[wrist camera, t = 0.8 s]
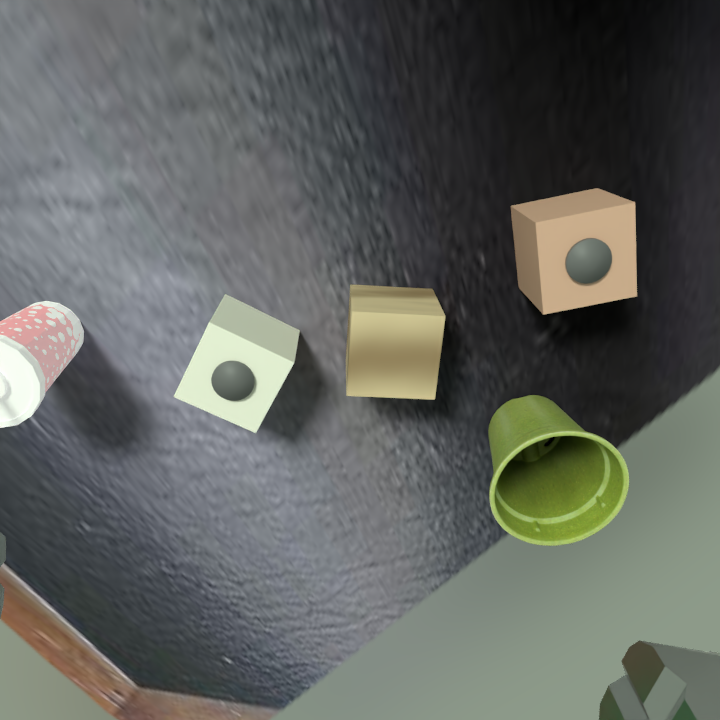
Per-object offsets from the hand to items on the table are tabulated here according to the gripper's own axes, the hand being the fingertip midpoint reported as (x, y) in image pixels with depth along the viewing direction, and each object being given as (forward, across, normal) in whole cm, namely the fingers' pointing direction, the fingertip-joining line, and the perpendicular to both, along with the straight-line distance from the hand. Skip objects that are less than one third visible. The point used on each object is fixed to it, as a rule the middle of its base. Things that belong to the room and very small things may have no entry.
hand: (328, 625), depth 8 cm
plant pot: (+38, -19, +13) cm, 44 cm away
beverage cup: (+38, +18, +14) cm, 44 cm away
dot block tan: (+37, -16, -2) cm, 41 cm away
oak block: (+38, -6, +8) cm, 39 cm away
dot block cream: (+38, +4, +12) cm, 40 cm away
